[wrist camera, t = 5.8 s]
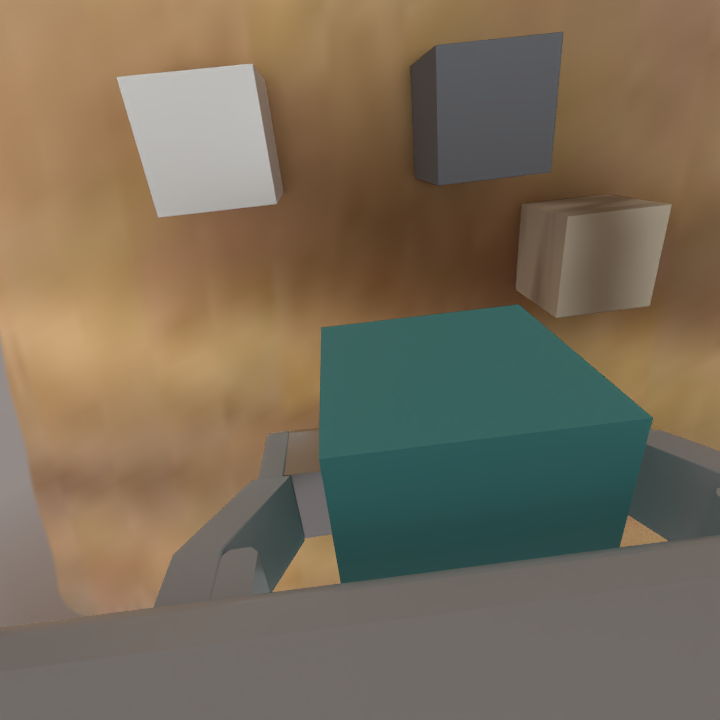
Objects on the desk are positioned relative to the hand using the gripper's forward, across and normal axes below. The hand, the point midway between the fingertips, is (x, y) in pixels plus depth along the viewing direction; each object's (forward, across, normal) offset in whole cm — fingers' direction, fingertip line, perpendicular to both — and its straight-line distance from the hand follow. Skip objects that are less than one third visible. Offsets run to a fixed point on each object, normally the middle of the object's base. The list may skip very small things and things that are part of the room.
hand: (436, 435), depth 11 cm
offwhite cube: (+16, +7, -7) cm, 19 cm away
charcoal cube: (+16, -5, -7) cm, 19 cm away
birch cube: (+17, -11, 0) cm, 20 cm away
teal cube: (+2, 0, 0) cm, 2 cm away
